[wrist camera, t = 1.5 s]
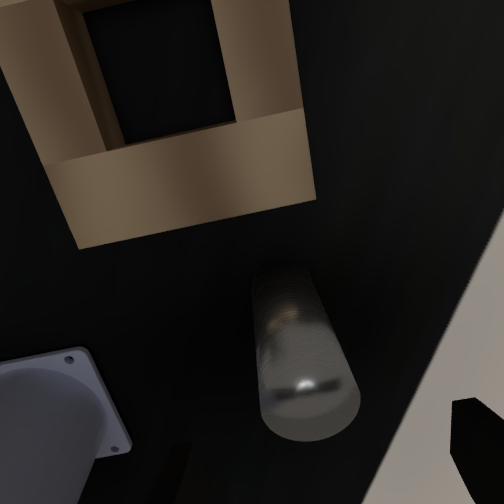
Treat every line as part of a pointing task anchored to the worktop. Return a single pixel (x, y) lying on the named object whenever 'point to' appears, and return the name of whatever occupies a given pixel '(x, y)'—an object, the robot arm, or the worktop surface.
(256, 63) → the socket plate
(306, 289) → the metal peg
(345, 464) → the worktop surface
